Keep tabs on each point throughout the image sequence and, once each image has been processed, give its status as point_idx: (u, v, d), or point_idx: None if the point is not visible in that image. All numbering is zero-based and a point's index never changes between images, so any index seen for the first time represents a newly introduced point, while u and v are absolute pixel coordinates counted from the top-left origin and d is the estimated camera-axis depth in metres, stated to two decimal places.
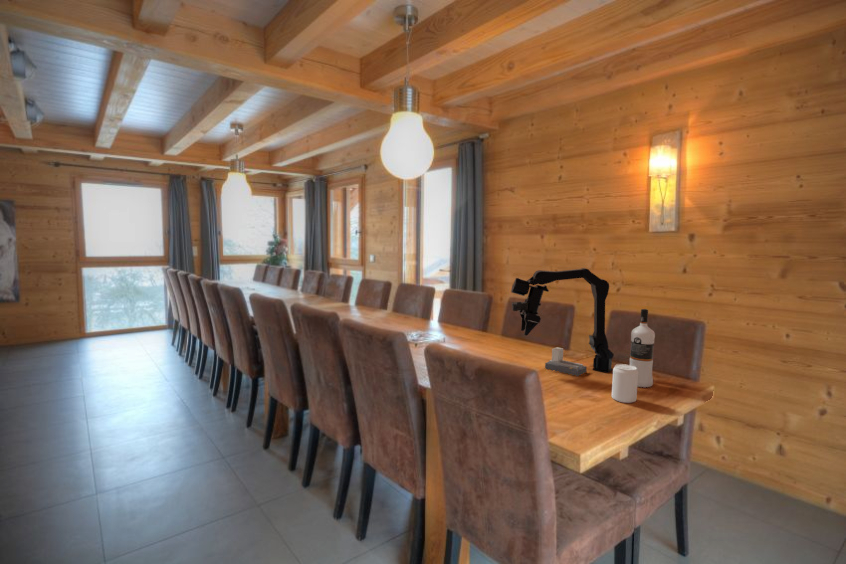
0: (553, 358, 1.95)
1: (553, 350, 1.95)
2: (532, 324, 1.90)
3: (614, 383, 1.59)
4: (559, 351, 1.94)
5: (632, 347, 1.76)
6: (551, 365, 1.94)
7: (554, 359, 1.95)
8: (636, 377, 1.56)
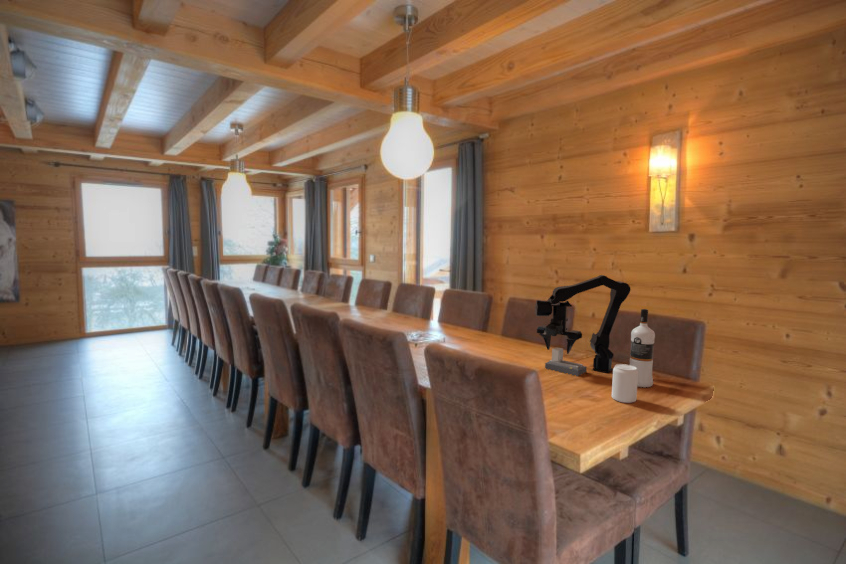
0: (553, 358, 1.95)
1: (553, 350, 1.95)
2: (572, 341, 1.92)
3: (614, 383, 1.59)
4: (559, 351, 1.94)
5: (632, 347, 1.76)
6: (551, 365, 1.94)
7: (554, 359, 1.95)
8: (636, 377, 1.56)
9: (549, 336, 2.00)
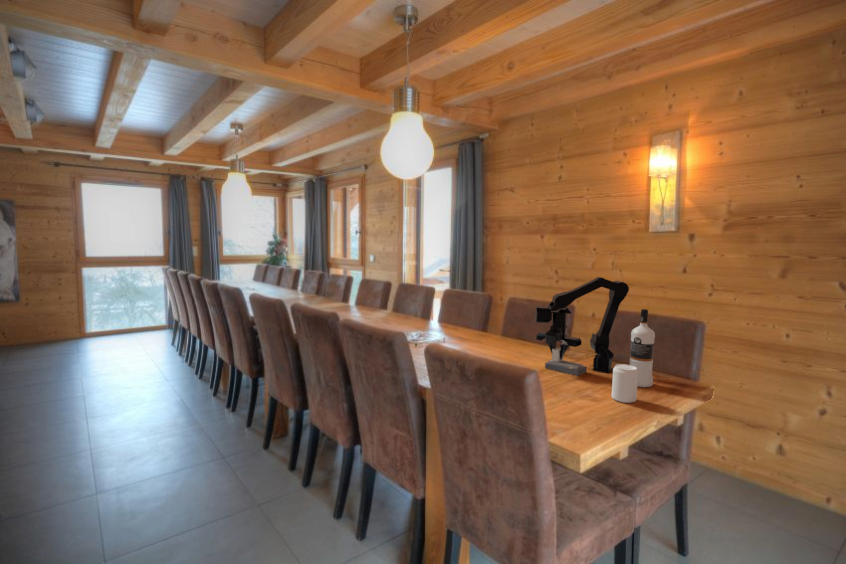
0: (553, 358, 1.95)
1: (553, 350, 1.95)
2: (565, 346, 1.95)
3: (614, 383, 1.59)
4: (559, 351, 1.94)
5: (632, 347, 1.76)
6: (551, 365, 1.94)
7: (554, 359, 1.95)
8: (636, 377, 1.56)
9: (555, 344, 1.98)
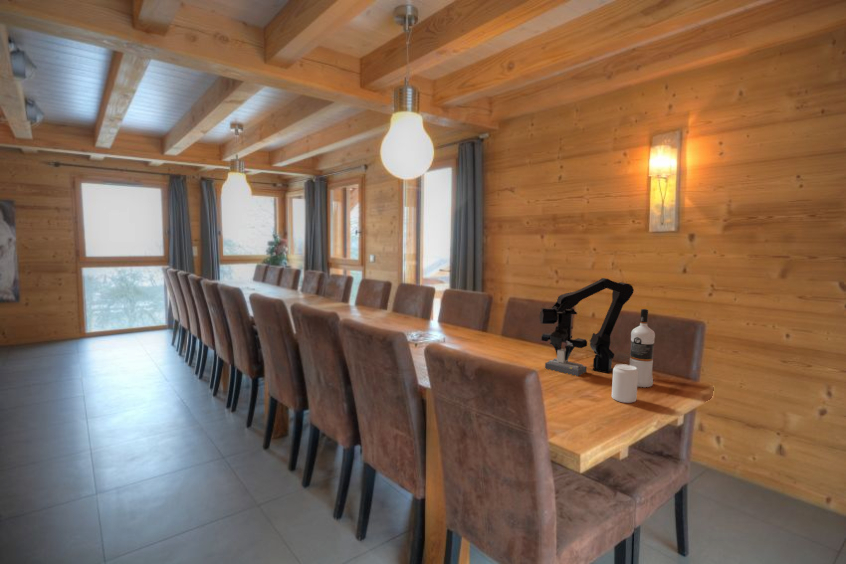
0: (558, 359, 1.94)
1: (558, 351, 1.93)
2: (571, 348, 1.93)
3: (614, 383, 1.59)
4: (564, 352, 1.92)
5: (632, 347, 1.76)
6: (551, 365, 1.94)
7: (559, 360, 1.93)
8: (636, 377, 1.56)
9: (560, 345, 1.97)
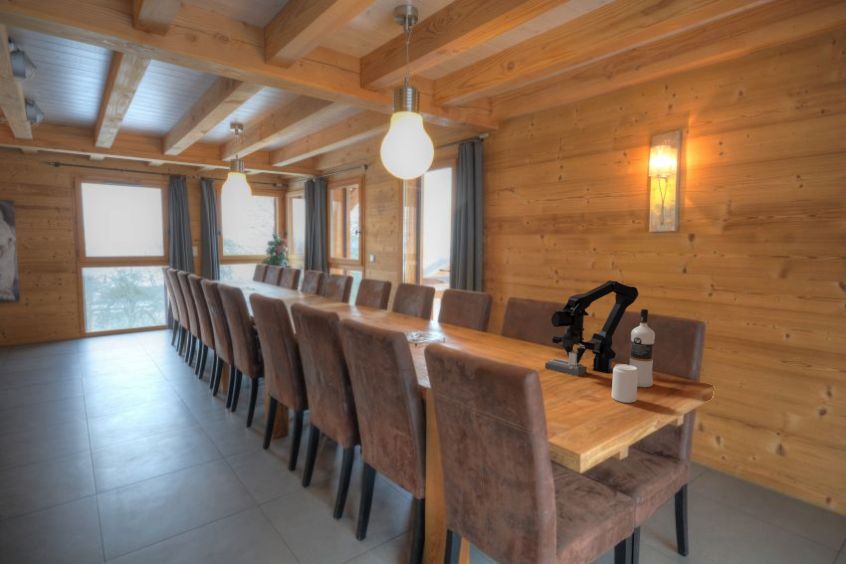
0: (570, 362, 1.90)
1: (570, 353, 1.90)
2: (583, 350, 1.89)
3: (614, 383, 1.59)
4: (576, 355, 1.89)
5: (632, 347, 1.76)
6: (551, 365, 1.94)
7: (571, 363, 1.90)
8: (636, 377, 1.56)
9: (571, 347, 1.93)
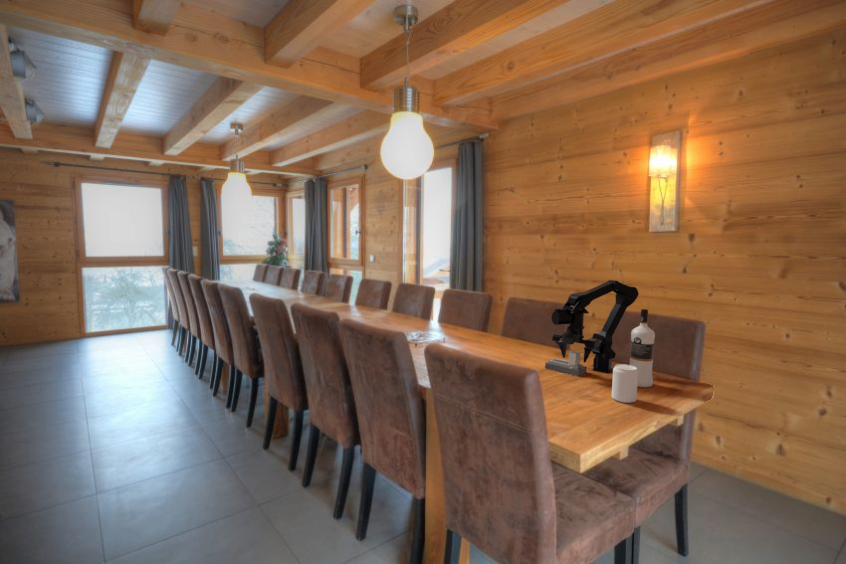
0: (570, 362, 1.90)
1: (570, 353, 1.90)
2: (589, 349, 1.87)
3: (614, 383, 1.59)
4: (576, 355, 1.89)
5: (632, 347, 1.76)
6: (551, 365, 1.94)
7: (571, 363, 1.90)
8: (636, 377, 1.56)
9: (565, 344, 1.95)
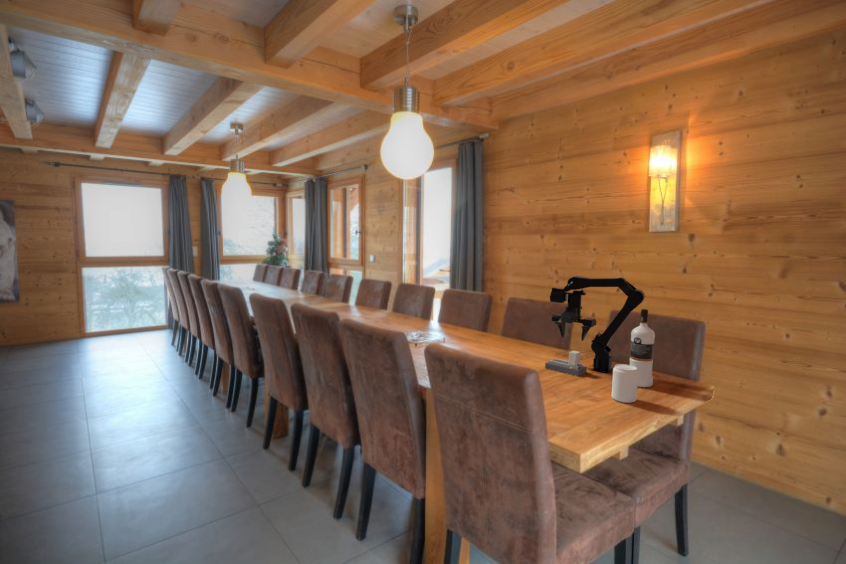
0: (570, 362, 1.90)
1: (570, 353, 1.90)
2: (587, 328, 1.97)
3: (614, 383, 1.59)
4: (576, 355, 1.89)
5: (632, 347, 1.76)
6: (551, 365, 1.94)
7: (571, 363, 1.90)
8: (636, 377, 1.56)
9: (563, 324, 2.05)
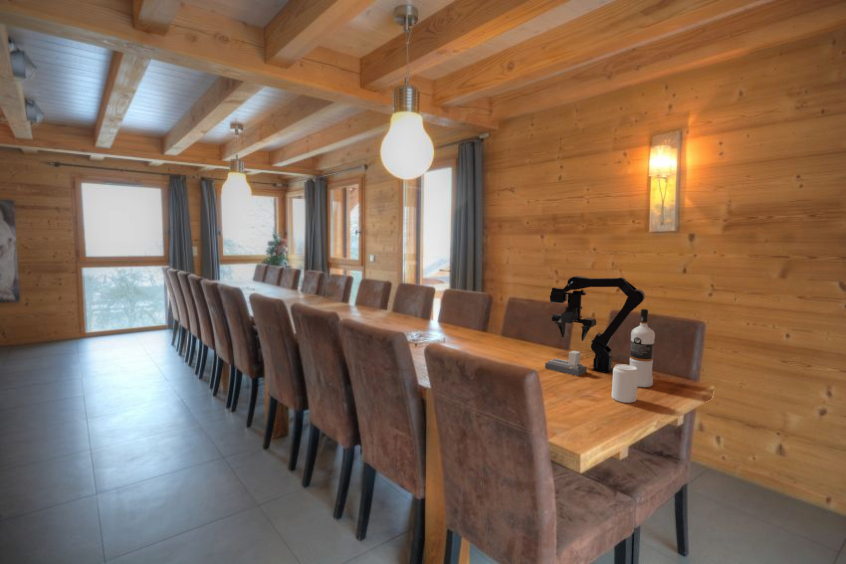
0: (570, 362, 1.90)
1: (570, 353, 1.90)
2: (587, 328, 1.97)
3: (614, 383, 1.59)
4: (576, 355, 1.89)
5: (632, 347, 1.76)
6: (551, 365, 1.94)
7: (571, 363, 1.90)
8: (636, 377, 1.56)
9: (564, 324, 2.05)
